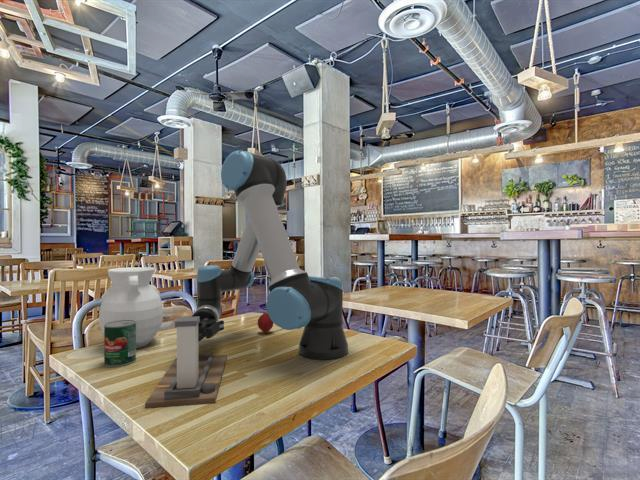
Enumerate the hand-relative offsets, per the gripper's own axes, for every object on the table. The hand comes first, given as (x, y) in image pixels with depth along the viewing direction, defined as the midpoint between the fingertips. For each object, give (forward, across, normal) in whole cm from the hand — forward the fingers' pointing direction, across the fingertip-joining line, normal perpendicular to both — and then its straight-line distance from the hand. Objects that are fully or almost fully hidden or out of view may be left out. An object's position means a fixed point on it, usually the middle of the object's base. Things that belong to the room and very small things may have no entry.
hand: (190, 342), depth 85 cm
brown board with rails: (-3, 0, -10) cm, 11 cm away
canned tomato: (-19, +22, -10) cm, 31 cm away
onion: (-43, -19, -10) cm, 48 cm away
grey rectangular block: (+3, 0, -9) cm, 9 cm away
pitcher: (-36, +24, -10) cm, 45 cm away
